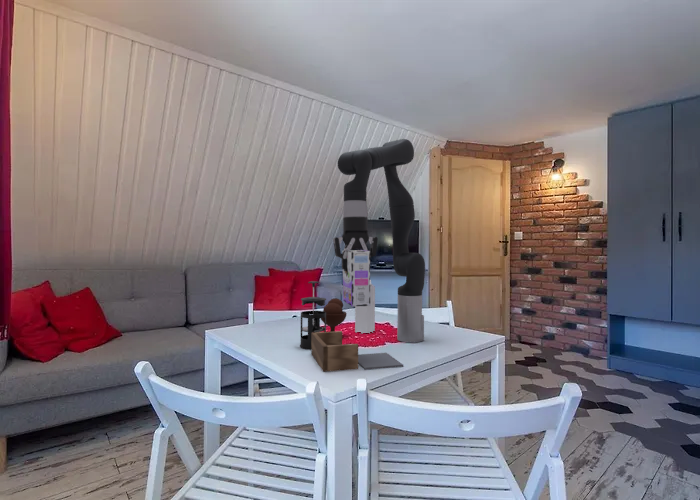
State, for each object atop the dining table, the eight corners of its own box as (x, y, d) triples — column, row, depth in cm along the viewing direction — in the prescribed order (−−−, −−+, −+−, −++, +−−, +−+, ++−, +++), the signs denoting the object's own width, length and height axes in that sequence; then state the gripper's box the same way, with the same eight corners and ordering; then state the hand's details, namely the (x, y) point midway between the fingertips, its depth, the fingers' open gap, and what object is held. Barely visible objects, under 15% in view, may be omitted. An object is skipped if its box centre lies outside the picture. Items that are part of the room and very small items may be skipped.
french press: (322, 350, 134) (323, 282, 134) (296, 349, 135) (296, 282, 135) (329, 342, 146) (330, 280, 145) (305, 341, 147) (305, 279, 147)
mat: (386, 354, 130) (386, 352, 130) (403, 366, 116) (403, 364, 116) (351, 356, 126) (351, 355, 126) (364, 369, 113) (364, 367, 113)
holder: (341, 351, 133) (341, 331, 132) (358, 368, 114) (358, 344, 114) (311, 353, 130) (311, 332, 130) (323, 371, 111) (323, 346, 111)
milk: (363, 330, 169) (363, 278, 169) (375, 331, 165) (375, 279, 165) (354, 332, 164) (355, 279, 164) (366, 334, 160) (367, 279, 160)
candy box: (371, 306, 116) (370, 250, 116) (351, 307, 115) (351, 250, 114) (359, 299, 129) (359, 249, 129) (342, 300, 128) (341, 250, 128)
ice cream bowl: (321, 333, 162) (321, 296, 162) (348, 334, 160) (348, 297, 160) (315, 339, 151) (315, 299, 151) (344, 340, 150) (344, 300, 150)
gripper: (373, 217, 127) (374, 269, 127) (329, 216, 123) (330, 270, 124) (381, 215, 120) (381, 271, 120) (335, 215, 116) (335, 272, 116)
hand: (355, 270), depth 122 cm, fingers closed on candy box, 6 cm apart
